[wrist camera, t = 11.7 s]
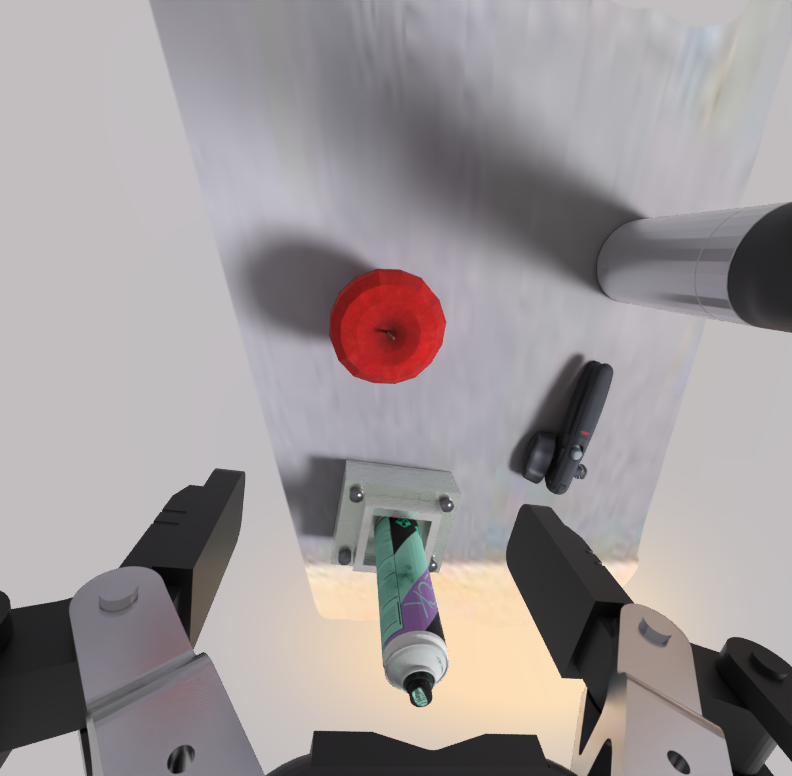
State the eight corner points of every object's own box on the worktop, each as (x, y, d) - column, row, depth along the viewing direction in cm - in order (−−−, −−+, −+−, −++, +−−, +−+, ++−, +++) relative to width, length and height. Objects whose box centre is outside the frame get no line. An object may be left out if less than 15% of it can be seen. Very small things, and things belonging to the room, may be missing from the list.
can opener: (555, 483, 56) (576, 507, 50) (511, 470, 54) (529, 493, 49) (618, 367, 51) (649, 380, 46) (573, 349, 50) (599, 361, 44)
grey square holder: (451, 472, 53) (466, 506, 46) (431, 546, 57) (442, 587, 50) (346, 459, 51) (345, 492, 44) (333, 537, 55) (329, 579, 47)
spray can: (400, 553, 50) (427, 733, 31) (364, 534, 49) (371, 710, 30) (426, 522, 49) (471, 689, 30) (391, 501, 48) (415, 663, 29)
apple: (409, 252, 44) (433, 252, 31) (437, 338, 47) (468, 371, 34) (319, 285, 44) (305, 299, 31) (353, 369, 47) (353, 412, 34)
